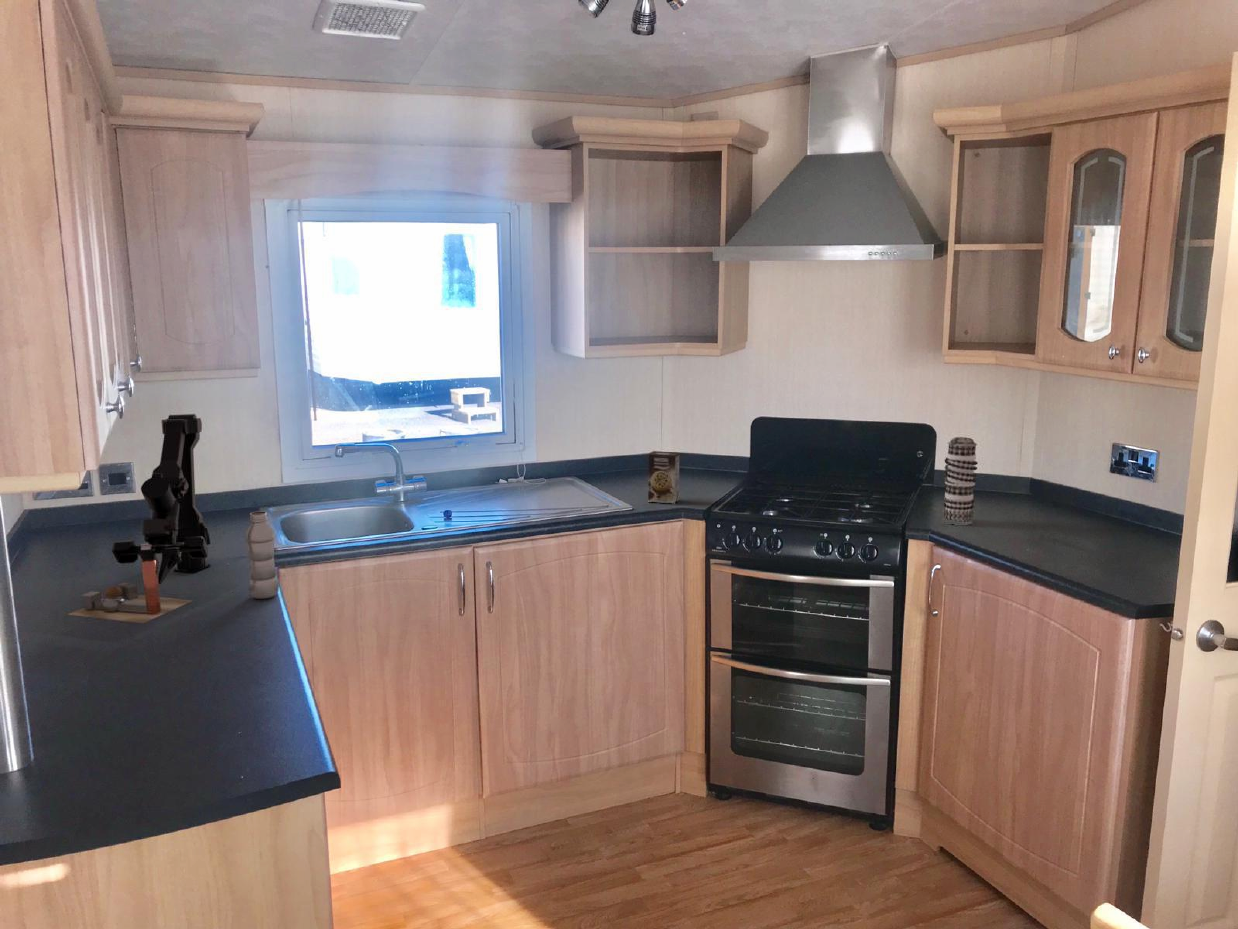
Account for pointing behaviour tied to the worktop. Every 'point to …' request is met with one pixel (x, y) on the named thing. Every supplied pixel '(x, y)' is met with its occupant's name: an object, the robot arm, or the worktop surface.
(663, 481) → the cookie box
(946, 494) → the decorative candle
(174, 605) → the wooden board
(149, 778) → the worktop surface
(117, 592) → the walnut
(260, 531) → the plastic bottle
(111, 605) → the lever
